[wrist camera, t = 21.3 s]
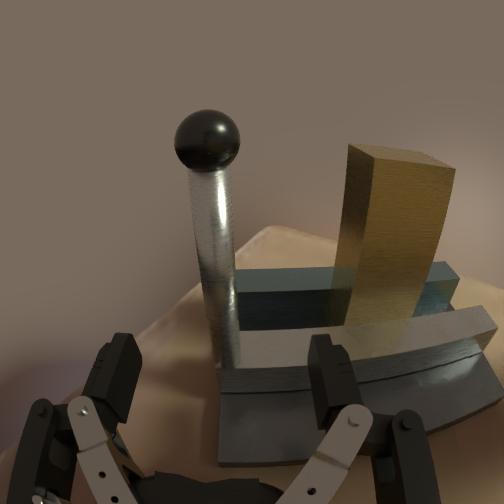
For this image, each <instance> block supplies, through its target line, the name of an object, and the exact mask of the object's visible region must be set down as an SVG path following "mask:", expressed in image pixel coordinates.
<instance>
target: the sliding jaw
mask: <svg viewBox="0 0 504 504" xmlns="http://www.w3.org/2000/svg"><path fill="white" fill-rule="evenodd" d="M174 146H175V151H176V154H177V156H178V158H179V159H180V161H181V162H182V163H183V164H184V165H185V166H186V167H187V168H188V179H189V189H190V199H191V208H192V217H193V225H194V233H195V241H196V248H197V256H198V263H199V270H200V277H201V284H202V290H203V297H204V303H205V309H206V315H207V321H208V327H209V332H210V338H211V344H212V349H213V354H214V359H215V363H216V373H217V378H218V383H219V387H220V392H274V391H291V390H304V389H311V384H310V378H309V373H308V366H307V357H308V351H309V346H310V341H311V336H312V335H315V334H330V337H331V340H332V344H333V345H339V344H341V345H342V346H343V347H344V349H345V350H346V351H347V352H348V354H349V357H350V361H351V365H352V367H353V370H354V371H353V372H354V374H355V377H356V381H357V383H360V382H366V381H372V380H378V379H383V378H388V377H393V376H398V375H402V374H407V373H411V372H415V371H419V370H423V369H427V368H431V367H435V366H438V365H442V364H445V363H449V362H452V361H455V360H459V359H462V358H465V357H468V356H471V355H474V354H477V353H480V352H483V351H484V349H485V348H486V347H487V345H488V343H489V342H490V340H491V339H492V337H493V336H494V334H495V333H496V331H497V329H498V327H497V325H496V324H495V322H494V321H493V320H492V318H491V317H490V316H489V314H488V313H487V311H486V310H485V309H484V308H483V306H482V305H479V306H474V307H469V308H464V309H459V310H454V311H449V312H443V313H437V314H431V315H425V316H419V317H412V318H405V319H398V320H390V321H382V322H374V323H365V324H355V325H345V326H333V327H321V328H306V329H288V330H265V331H240V328H239V313H238V298H237V283H236V266H235V250H234V231H233V213H232V193H231V173H230V165H229V164H230V163H231V162H232V161H233V160H234V159H235V157H236V155H237V153H238V151H239V147H240V135H239V130H238V128H237V126H236V124H235V123H234V121H233V120H232V119H231V118H230V117H229V116H227V115H226V114H224V113H222V112H220V111H216V110H200V111H197V112H195V113H193V114H191V115H189V116H188V117H186V118H185V119H184V120H183V121H182V122H181V124H180V125H179V127H178V129H177V131H176V134H175V139H174Z"/></svg>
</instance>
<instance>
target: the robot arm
mask: <svg viewBox="0 0 504 504" xmlns="http://www.w3.org/2000/svg"><path fill="white" fill-rule="evenodd" d="M307 366H308V373H309V378H310V384H311V390H312V396H313V402H314V408H315V414H316V420H317V426H318V430H325V433H326V436H325V438H324V439H323V441H322V442H321V444H320V445H319V447H318V448H317V450H316V451H315V453H314V454H313V455H312V457H311V458H310V459H309V461H308V462H307V464H306V465H305V466H304V468H303V469H302V470H301V472H300V473H299V475H298V476H297V477H296V479H295V480H294V481H293V482H292V484H291V485H290V486H289V488H288V489H287V490H286V491H285V493H284V492H283V491H282V490H280V489H278V488H276V487H274V486H271V485H268V484H265V483H260V482H259V478H258V479H227V480H222V481H216V482H210V483H203V482H199V481H196V480H193V479H190V478H187V477H184V476H181V475H178V474H170V473H163V472H157V471H155V474H154V476H149V477H145V476H144V474H143V473H142V471H141V470H140V468H139V467H138V466H137V465H136V464H135V462H134V461H133V459H132V457H131V455H130V454H129V452H128V450H127V448H126V446H125V444H124V442H123V440H122V438H121V436H120V434H119V432H118V430H117V424H118V422H119V423H124V424H126V422H127V418H128V414H129V410H130V406H131V403H132V399H133V395H134V391H135V388H136V384H137V381H138V377H139V374H140V370H141V367H142V355H141V353H140V350H139V348H138V346H137V344H136V341H135V339H134V337H133V335H132V334H129V333H115V334H114V337H113V339H112V341H111V343H106V344H105V345H104V346H103V347H102V348H101V349H100V350H99V353H98V355H97V357H96V361H95V362H94V365H93V368H92V370H91V372H90V374H89V377H88V379H87V382H86V384H85V387H84V390H83V392H82V394H81V396H78V397H75V398H74V399H72V400H71V402H70V403H69V404H62V405H53V404H52V403H51V402H50V401H48V400H47V399H39V400H37V401H35V402H34V403H33V405H32V407H31V409H30V412H29V415H28V418H27V421H26V424H25V427H24V430H23V434H22V437H21V440H20V444H19V447H18V451H17V455H16V459H15V463H14V467H13V471H12V476H11V481H10V486H9V492H8V498H7V504H71V503H70V498H71V491H72V484H73V478H74V473H75V467H76V462H77V458H78V461H79V463H80V466H81V468H82V471H83V473H84V475H85V478H86V480H87V482H88V484H89V487H90V489H91V491H92V493H93V495H94V497H95V499H96V501H97V503H98V504H328V503H329V502H330V500H331V499H332V497H333V496H334V494H335V493H336V491H337V490H338V488H339V487H340V485H341V484H342V482H343V480H344V479H345V477H346V475H347V473H348V471H349V467H350V465H351V463H352V462H353V460H354V458H355V456H356V455H366V456H371V461H372V468H373V475H374V483H375V491H376V500H377V504H441V501H440V495H439V489H438V484H437V479H436V474H435V469H434V465H433V460H432V456H431V452H430V448H429V444H428V440H427V436H426V432H425V429H424V425H423V421H422V419H421V417H420V415H419V414H418V413H417V412H415V411H413V410H408V409H406V410H401V411H399V412H398V413H397V414H396V415H386V414H378V413H374V412H372V411H370V410H369V409H368V408H367V407H366V406H365V405H364V403H363V401H362V398H361V395H360V391H359V387H358V384H357V381H356V377H355V374H354V372H353V371H354V370H353V367H352V365H351V361H350V357H349V354H348V352H347V351H346V350H345V349H344V347H343V346H342V345H341V344H339V345H333V344H332V340H331V337H330V334H315V335H312V336H311V341H310V346H309V351H308V357H307Z"/></svg>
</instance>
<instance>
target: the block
mask: <svg viewBox="0 0 504 504" xmlns="http://www.w3.org/2000/svg"><path fill="white" fill-rule="evenodd" d="M455 170H456V169H454V168H453V167H451V166H449V165H447V164H445V163H443V162H441V161H439V160H437V159H434V158H433V157H430V156H428V155H426V154H424V153H422V152H417V151H411V150H403V149H396V148H388V147H380V146H371V145H359V144H348V156H347V168H346V180H345V190H344V199H343V208H342V216H341V224H340V231H339V239H338V246H337V252H336V259H335V265H334V271H333V277H332V283H331V288H330V294H329V299H328V304H327V309H326V314H325V318H326V322H327V325H328V327H333V326H345V325H355V324H365V323H374V322H382V321H390V320H398V319H405V318H411V317H412V315H413V312H414V310H415V308H416V305H417V303H418V300H419V298H420V295H421V293H422V290H423V287H424V285H425V282H426V279H427V276H428V274H429V271H430V268H431V265H432V262H433V259H434V256H435V252H436V249H437V246H438V243H439V239H440V236H441V232H442V229H443V225H444V221H445V217H446V213H447V209H448V205H449V200H450V196H451V191H452V186H453V181H454V176H455Z"/></svg>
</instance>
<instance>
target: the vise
mask: <svg viewBox="0 0 504 504" xmlns="http://www.w3.org/2000/svg"><path fill="white" fill-rule="evenodd" d="M333 271H334V267H313V268H281V269H243V270H236V283H237V298H238V313H239V328H240V331H265V330H288V329H306V328H321V327H328V325H327V322H326V318H325V314H326V309H327V304H328V299H329V294H330V288H331V283H332V277H333ZM459 280H460V278H459V276H458V275H457V274H456V273H455V272H454V271H453V270H452V268H451V267H450V266H449V265H448V264H447V263H446V262H445V261H444V262H432V265H431V268H430V271H429V274H428V276H427V279H426V282H425V285H424V287H423V290H422V293H421V295H420V298H419V300H418V303H417V305H416V308H415V310H414V312H413V315H412V317H419V316H425V315H431V314H437V313H443V312H449V311H454V310H455V309H454V308H453V307H452V305H451V304H450V301H451V299H452V296H453V294H454V292H455V289H456V287H457V285H458V282H459ZM412 317H411V318H412ZM357 384H358V387H359V391H360V395H361V398H362V401H363V403H364V405H365V406H366V407H367V408H368V409H369V410H370V411H372V412H374V413H378V414H386V415H396V414H397V413H398V412H399V411H401V410H406V409H408V410H413V411H415V412H417V413H418V414H419V415H420V417H421V419H422V421H423V425H424V429H425V432H426V435H429V434H432V433H434V432H437V431H440V430H442V429H445V428H447V427H449V426H452V425H454V424H456V423H459V422H461V421H463V420H465V419H467V418H470V417H472V416H474V415H476V414H478V413H480V412H482V411H484V410H486V409H488V408H489V407H491V406H493V405H495V404H497V403H498V402H499V401H500V400H501V399H502V398H503V397H504V390H503V388H502V386H501V384H500V382H499V380H498V379H497V377H496V375H495V373H494V371H493V369H492V368H491V366H490V364H489V362H488V361H487V359H486V357H485V356H484V354H483V352H480V353H477V354H474V355H471V356H468V357H465V358H462V359H459V360H455V361H452V362H449V363H445V364H442V365H438V366H435V367H431V368H427V369H423V370H419V371H415V372H411V373H407V374H402V375H398V376H393V377H388V378H383V379H378V380H372V381H366V382H360V383H357ZM325 436H326V433H325V430H318V426H317V420H316V414H315V408H314V402H313V396H312V390H311V389H304V390H291V391H274V392H221V399H220V417H219V436H218V457H217V462H218V464H219V466H220V467H271V466H286V465H297V464H307V462H308V461H309V459H310V458H311V457H312V455H313V454H314V453H315V451H316V450H317V448H318V447H319V445H320V444H321V442H322V441H323V439H324V438H325Z"/></svg>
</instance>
